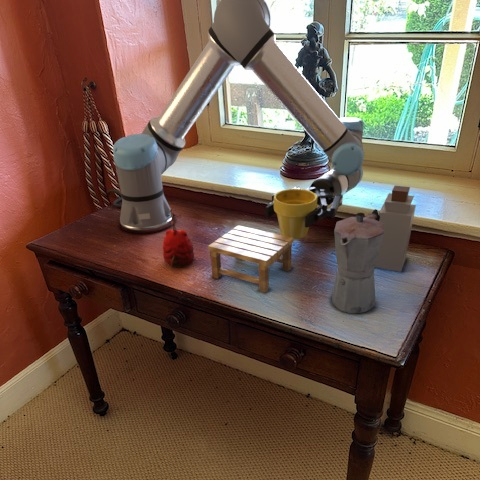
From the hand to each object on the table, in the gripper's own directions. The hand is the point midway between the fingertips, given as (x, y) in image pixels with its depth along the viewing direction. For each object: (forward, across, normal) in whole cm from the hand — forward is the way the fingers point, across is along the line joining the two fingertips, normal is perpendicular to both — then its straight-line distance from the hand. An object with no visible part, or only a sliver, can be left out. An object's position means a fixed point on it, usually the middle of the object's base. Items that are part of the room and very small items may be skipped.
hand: (286, 217), depth 109 cm
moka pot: (+11, -23, -10) cm, 27 cm away
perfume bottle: (-9, -23, -10) cm, 27 cm away
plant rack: (+12, +2, -10) cm, 16 cm away
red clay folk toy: (+17, +20, -10) cm, 28 cm away
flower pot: (-4, 0, -6) cm, 7 cm away
